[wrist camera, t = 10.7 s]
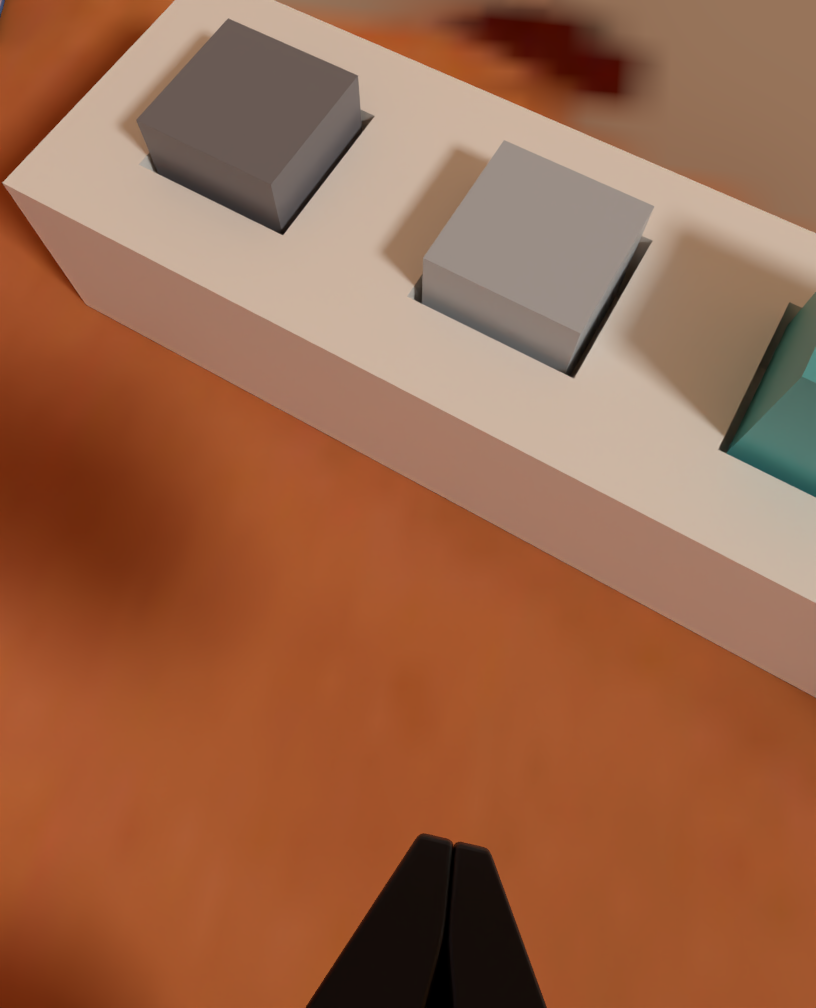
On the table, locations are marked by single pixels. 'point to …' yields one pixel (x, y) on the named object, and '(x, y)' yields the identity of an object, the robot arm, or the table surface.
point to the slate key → (534, 256)
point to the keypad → (466, 328)
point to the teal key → (785, 409)
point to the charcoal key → (253, 124)
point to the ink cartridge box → (1, 5)
